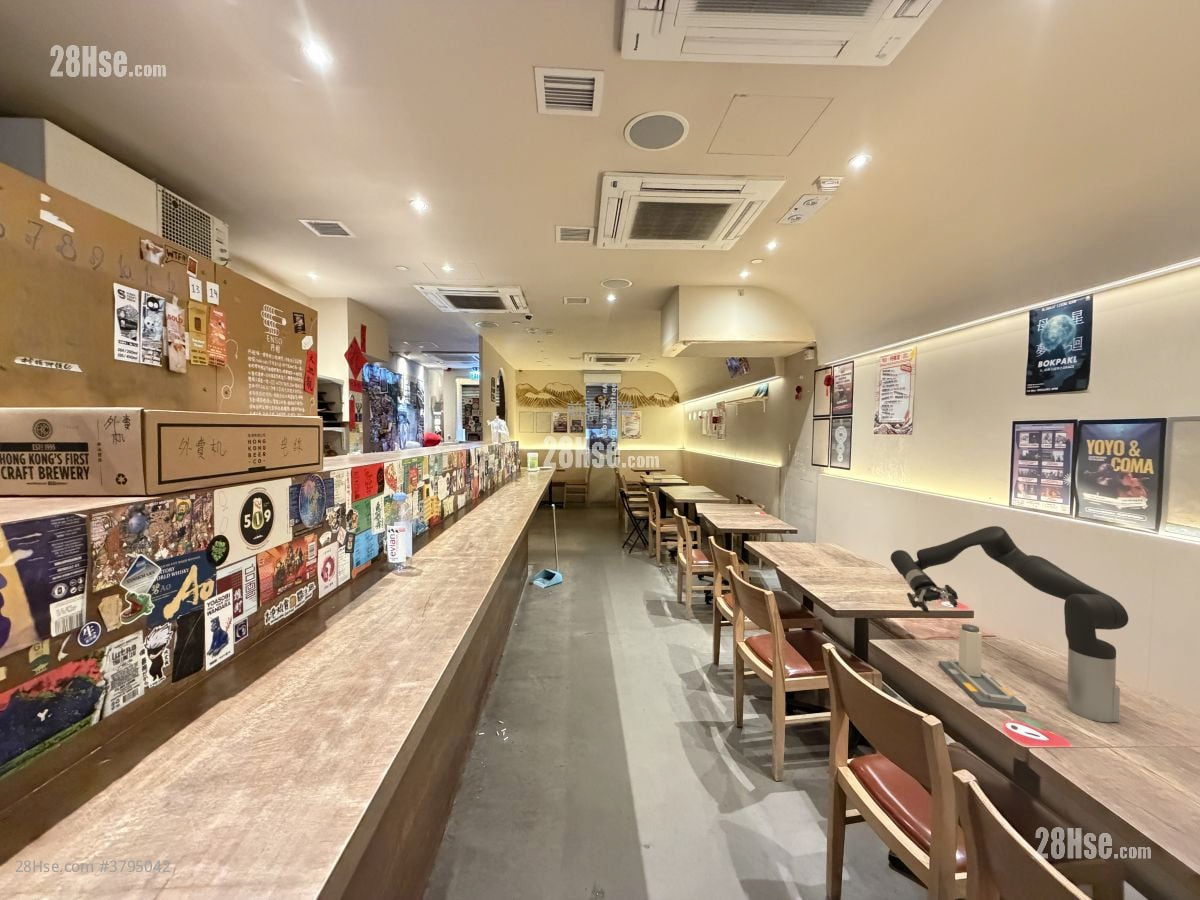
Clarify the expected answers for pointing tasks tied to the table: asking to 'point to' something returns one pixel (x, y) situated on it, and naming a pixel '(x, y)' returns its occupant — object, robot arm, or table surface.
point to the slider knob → (970, 650)
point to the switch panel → (982, 688)
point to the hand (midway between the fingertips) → (941, 607)
